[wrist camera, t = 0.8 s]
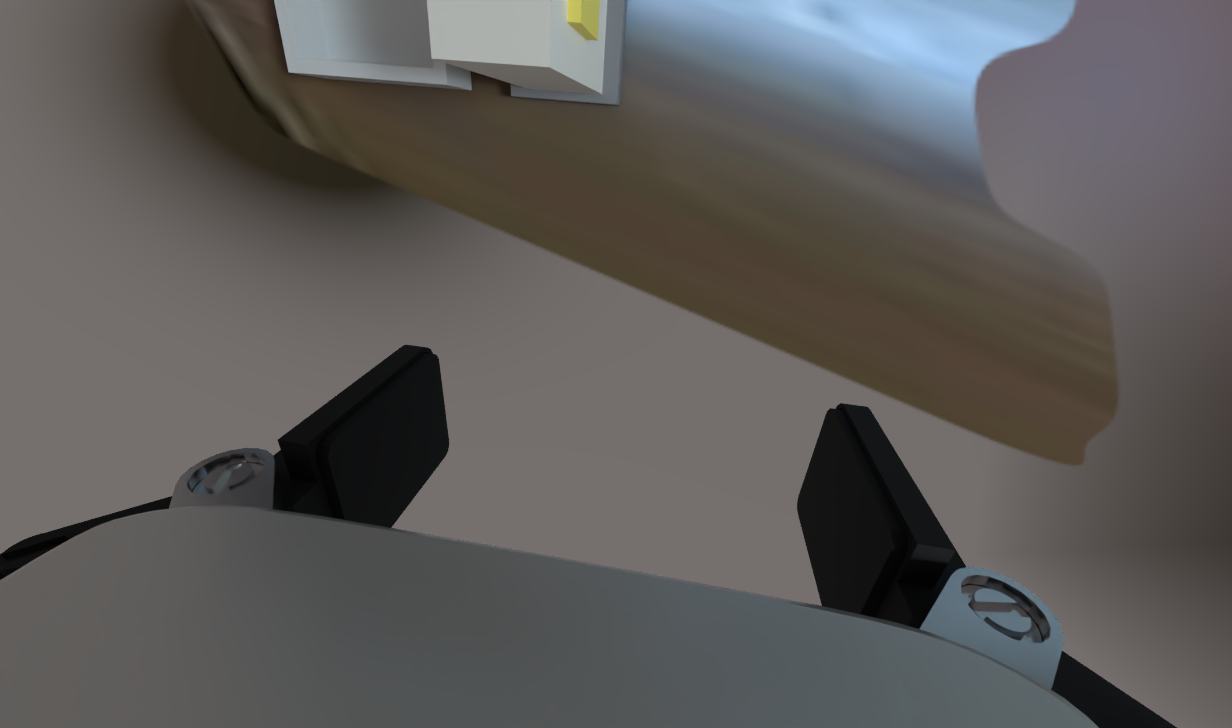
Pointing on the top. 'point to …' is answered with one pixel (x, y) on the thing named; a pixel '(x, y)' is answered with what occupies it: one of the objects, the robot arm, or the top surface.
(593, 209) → the top surface
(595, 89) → the block
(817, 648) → the robot arm
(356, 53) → the tray
